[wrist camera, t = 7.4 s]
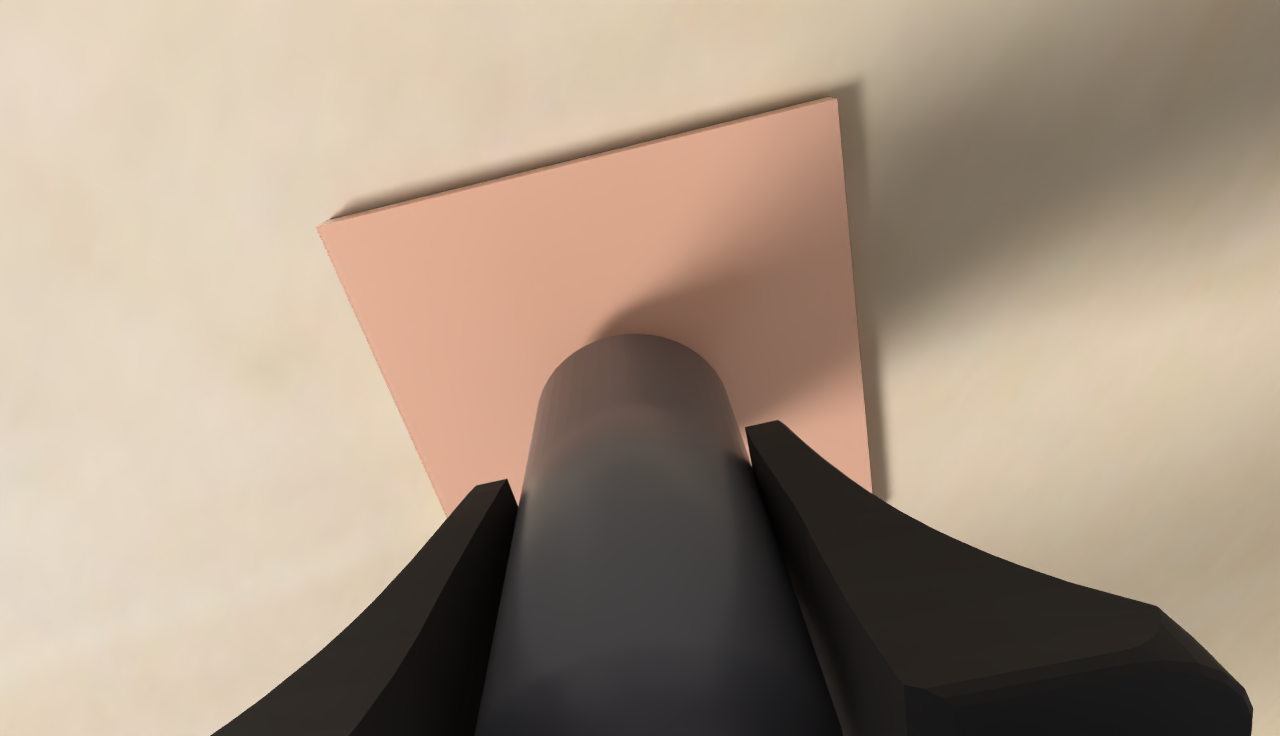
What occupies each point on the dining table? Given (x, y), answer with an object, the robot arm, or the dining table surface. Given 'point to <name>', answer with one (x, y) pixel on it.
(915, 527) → the robot arm
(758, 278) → the tile
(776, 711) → the plug
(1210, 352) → the dining table surface
